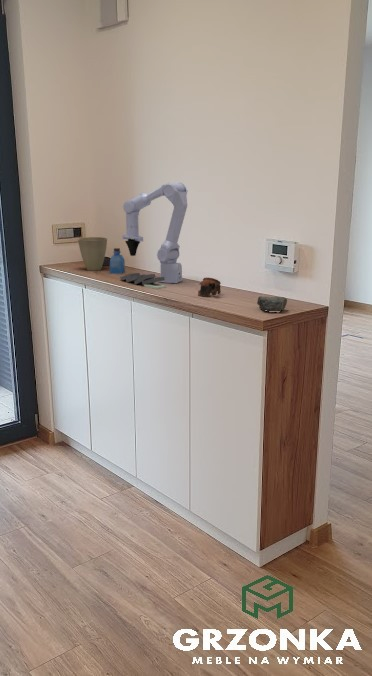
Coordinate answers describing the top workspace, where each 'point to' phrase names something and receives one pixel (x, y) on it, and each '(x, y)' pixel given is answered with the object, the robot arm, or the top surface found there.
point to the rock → (272, 303)
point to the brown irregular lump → (209, 287)
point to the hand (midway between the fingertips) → (133, 255)
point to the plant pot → (93, 251)
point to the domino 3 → (144, 278)
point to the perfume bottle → (117, 262)
